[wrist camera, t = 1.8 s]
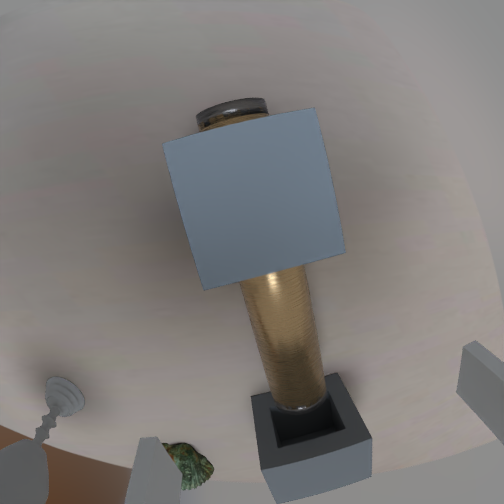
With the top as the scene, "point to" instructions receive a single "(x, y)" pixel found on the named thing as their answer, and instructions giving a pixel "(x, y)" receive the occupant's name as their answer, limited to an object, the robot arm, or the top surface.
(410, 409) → the top surface
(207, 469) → the seashell
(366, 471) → the socket
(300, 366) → the slip tube
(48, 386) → the chalice
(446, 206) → the top surface
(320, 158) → the blue-grey cube-like block
